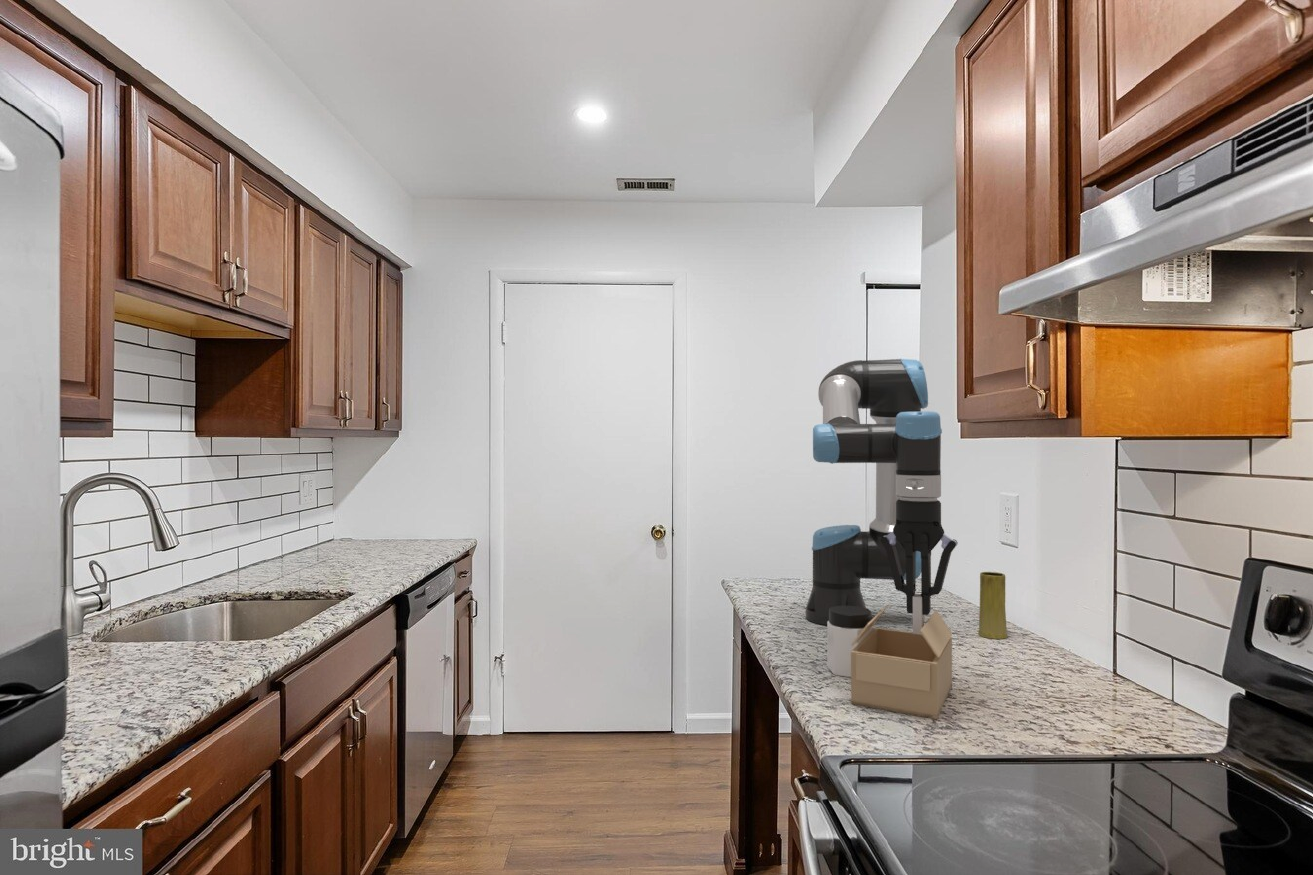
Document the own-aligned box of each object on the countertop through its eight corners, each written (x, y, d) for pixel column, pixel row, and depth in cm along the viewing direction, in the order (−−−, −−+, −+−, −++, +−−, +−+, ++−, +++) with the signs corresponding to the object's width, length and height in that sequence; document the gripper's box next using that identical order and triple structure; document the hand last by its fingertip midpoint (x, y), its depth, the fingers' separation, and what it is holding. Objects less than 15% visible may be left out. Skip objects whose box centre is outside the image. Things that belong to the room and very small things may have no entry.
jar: (850, 681, 137) (850, 617, 137) (818, 669, 144) (818, 609, 144) (882, 672, 142) (882, 611, 142) (850, 661, 149) (849, 603, 149)
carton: (875, 673, 142) (875, 626, 142) (952, 684, 135) (952, 636, 135) (850, 704, 125) (850, 652, 125) (936, 720, 119) (936, 664, 119)
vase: (1004, 640, 164) (1004, 577, 164) (975, 636, 167) (975, 574, 167) (1009, 634, 169) (1009, 573, 169) (981, 630, 172) (981, 570, 172)
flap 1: (873, 624, 141) (872, 623, 141) (888, 605, 139) (887, 604, 139) (852, 646, 127) (850, 644, 127) (868, 625, 125) (867, 623, 125)
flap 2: (934, 610, 135) (936, 610, 135) (951, 634, 134) (952, 633, 134) (919, 631, 121) (921, 630, 121) (937, 657, 120) (939, 656, 120)
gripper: (875, 499, 129) (876, 632, 129) (954, 502, 122) (955, 642, 122) (885, 495, 135) (885, 622, 135) (960, 498, 129) (961, 632, 129)
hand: (918, 632), depth 129 cm, fingers closed
